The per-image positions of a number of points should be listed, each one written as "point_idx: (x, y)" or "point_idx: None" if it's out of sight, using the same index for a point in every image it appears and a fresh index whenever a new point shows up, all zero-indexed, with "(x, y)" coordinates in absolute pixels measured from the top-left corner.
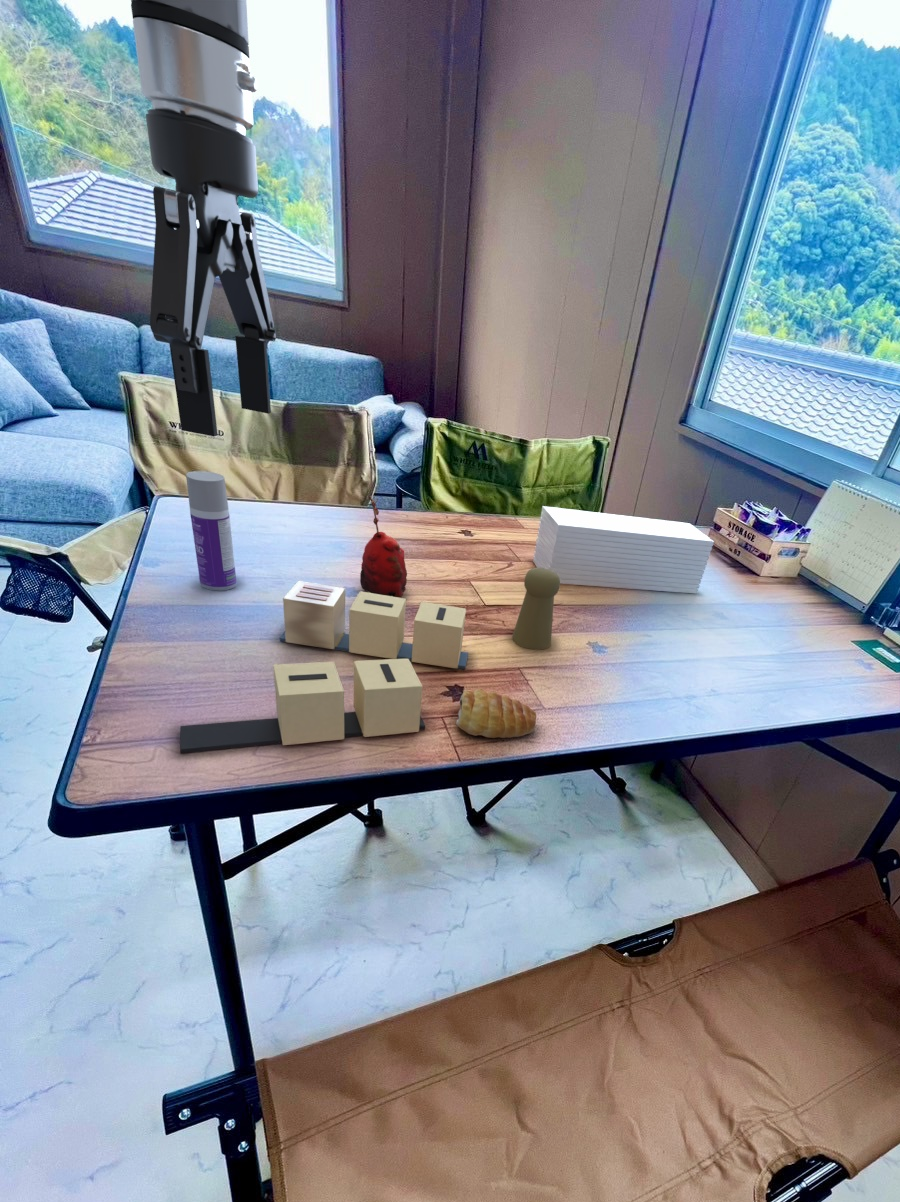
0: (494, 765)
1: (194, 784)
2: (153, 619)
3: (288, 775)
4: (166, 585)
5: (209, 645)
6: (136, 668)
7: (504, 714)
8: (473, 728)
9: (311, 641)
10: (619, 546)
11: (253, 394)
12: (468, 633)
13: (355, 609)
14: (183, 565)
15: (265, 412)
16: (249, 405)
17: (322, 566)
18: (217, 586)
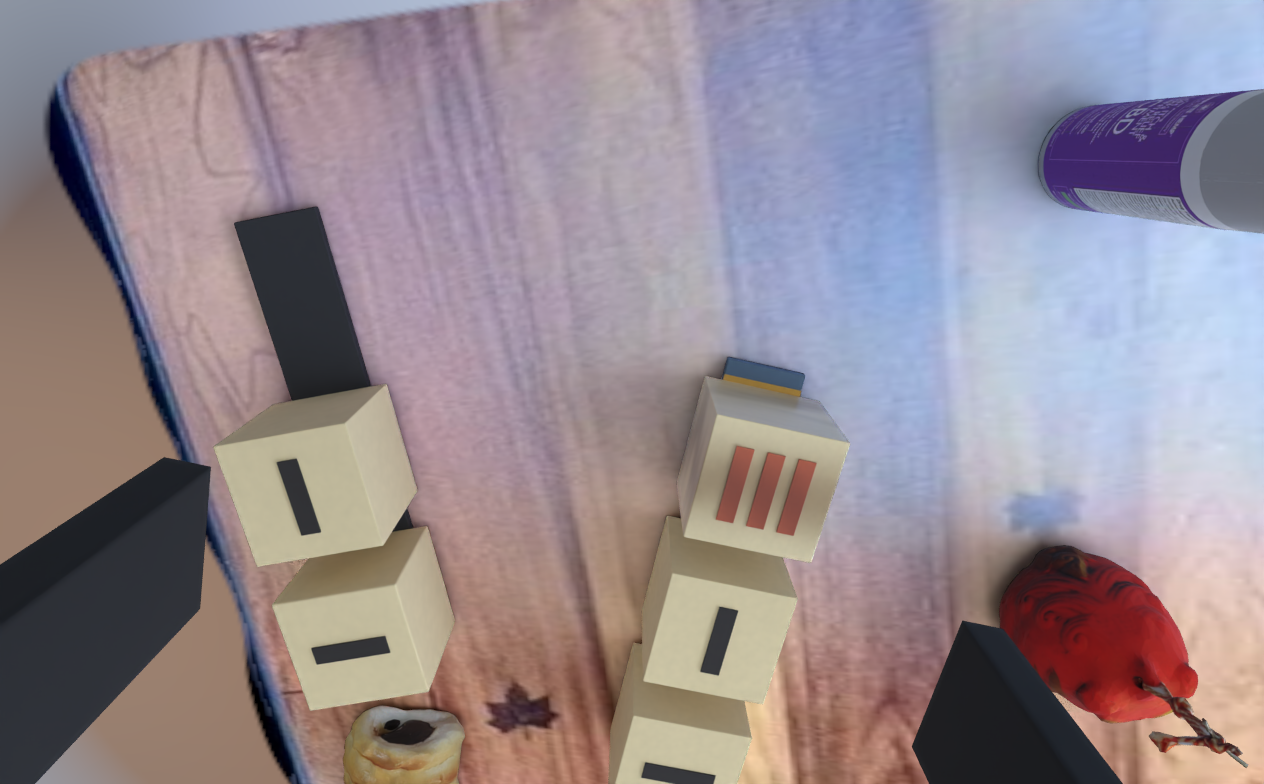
0: (277, 745)
1: (150, 263)
2: (834, 29)
3: (199, 415)
4: (1072, 11)
5: (693, 197)
6: (561, 54)
7: None
8: (347, 738)
9: (690, 438)
10: None
11: (975, 746)
12: (804, 766)
13: (674, 587)
14: (1239, 27)
15: (921, 735)
16: (953, 676)
17: (1238, 433)
18: (1044, 164)
